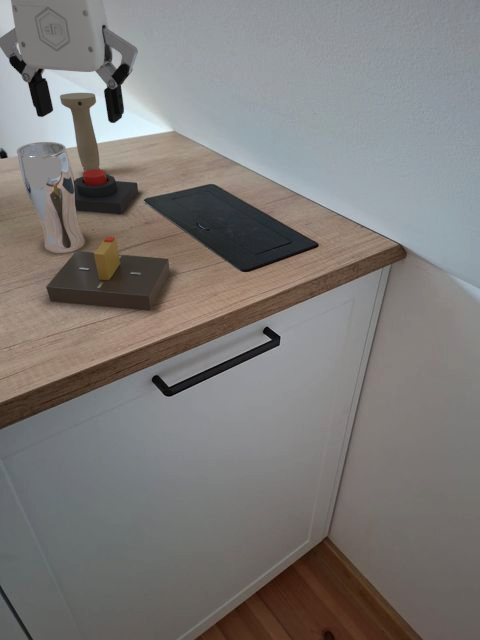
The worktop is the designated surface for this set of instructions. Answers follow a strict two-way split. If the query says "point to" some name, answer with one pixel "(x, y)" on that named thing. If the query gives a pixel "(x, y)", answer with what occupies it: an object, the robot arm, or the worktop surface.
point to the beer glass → (52, 193)
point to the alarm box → (105, 196)
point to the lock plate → (110, 282)
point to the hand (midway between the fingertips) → (80, 117)
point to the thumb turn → (107, 258)
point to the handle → (83, 127)
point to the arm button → (94, 177)
